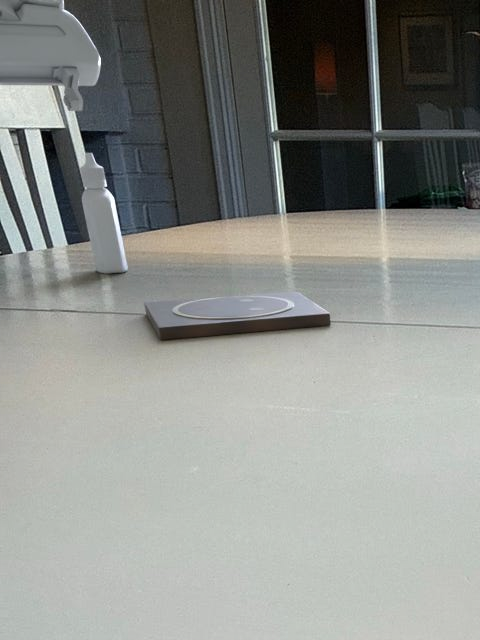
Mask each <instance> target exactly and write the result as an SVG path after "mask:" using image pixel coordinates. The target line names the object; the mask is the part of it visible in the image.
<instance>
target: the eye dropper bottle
mask: <svg viewBox="0 0 480 640" xmlns="http://www.w3.org/2000/svg"><path fill="white" fill-rule="evenodd" d="M84 157H85V162H84V164H83V165H82V166H80V167H79V169H80V170H79V171H80V175H81V181H82V185H83V188H85V189H84V191H83V193H82V195H81V204H82V205H81V206H82V209H83V214H84V219H85V224H86V228H87V233H88V238H89V241H90V246H91V247H90V248H91V253H92V256H93V261H94V262H93V263H94V266H95V271H96V272H98V273H100V274H106V275H107V274H121V273H125V272H127V271H128V263H127V258H126V252H125V247H124V242H123V241H124V240H123V236H122V230H121V226H120V222H119V221H120V220H119V217H118V211H117V205H116V200H115V197H114V196H113V194H112V193H111V191H110V190H108V188H106V187H108V184H107V179H106V173H105V170H104V167H103V166H102V165H99V164H98V163H97V162H96V160H95V157H94V154H93V152H85V153H84Z"/></svg>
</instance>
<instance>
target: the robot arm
mask: <svg viewBox="0 0 480 640" xmlns="http://www.w3.org/2000/svg"><path fill="white" fill-rule="evenodd" d="M101 66H102V61H101V56H100V53H99V51H98V49H97V47H96V46H95V44H94V42H93V41H92V39H91V37H90V35H89V34H88V32H87V31H86V29H85V28H84V26H83V25H82V24H81V22H80V21H79V20H78V19H77V18H76V17H75V16H74V15H73V14H72V13H71V12H69V11H68V10H65V2H64V0H0V86H43V87H44V86H45V87H47V86H49V87H50V86H52V87H53V86H55V87H58V86H60V87H61V86H62V87H64V90H63V91H64V92H63V93H64V96H63V100H62V102H63V103H64V105H65V106H66V107H67V110H68V111H69V112H82V111H83V107H84V100H83V96H82V94H81V93H80V92H79V87H94V86H95V85H96V84H97V82H98V80H99V77H100V74H101Z"/></svg>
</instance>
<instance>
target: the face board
mask: <svg viewBox="0 0 480 640" xmlns="http://www.w3.org/2000/svg"><path fill="white" fill-rule="evenodd" d="M143 305H144V311H145V314H146V316H147V318H148V319H149V321H150V323H151V325H152V327H153V328H154V330H155V332H156V334H157V336H158V338H159V339H160V341H168V340H169V341H170V340H178V339H190V338H201V337H202V338H203V337H212V336H226V335H236V334H249V333H258V332H259V333H260V332H271V331H281V330H291V329H292V330H293V329H304V328H314V327H315V328H317V327H327V326H331V324H332V323H331V314H330V312H329V311H327V310H325V309H324V308H322V307H321V306H320V305H318V304H316V303H315V302H314V301H312V300H311V299H309V298H307V297H306V296H305V295H303V294H301V293H300V292H298V291H296V290H295V291H283V292H269V293H256V294H241V295H240V294H239V295H229V296H227V295H226V296H218V297H217V296H216V297H215V296H214V297H202V298H188V299H176V300H175V299H173V300H162V301H147V302H144V303H143Z"/></svg>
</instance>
